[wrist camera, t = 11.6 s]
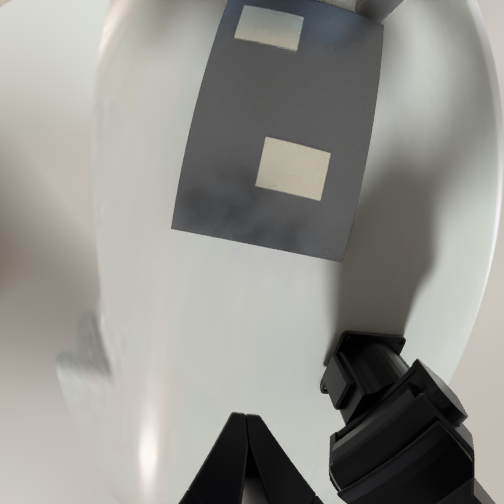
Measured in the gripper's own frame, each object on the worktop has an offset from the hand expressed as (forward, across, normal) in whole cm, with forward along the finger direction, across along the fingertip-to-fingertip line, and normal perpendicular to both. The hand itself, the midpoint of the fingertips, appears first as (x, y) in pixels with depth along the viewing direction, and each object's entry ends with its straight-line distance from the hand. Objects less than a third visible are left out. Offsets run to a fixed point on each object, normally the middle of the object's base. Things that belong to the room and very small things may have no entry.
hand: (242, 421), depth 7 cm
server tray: (+13, 0, -12) cm, 18 cm away
